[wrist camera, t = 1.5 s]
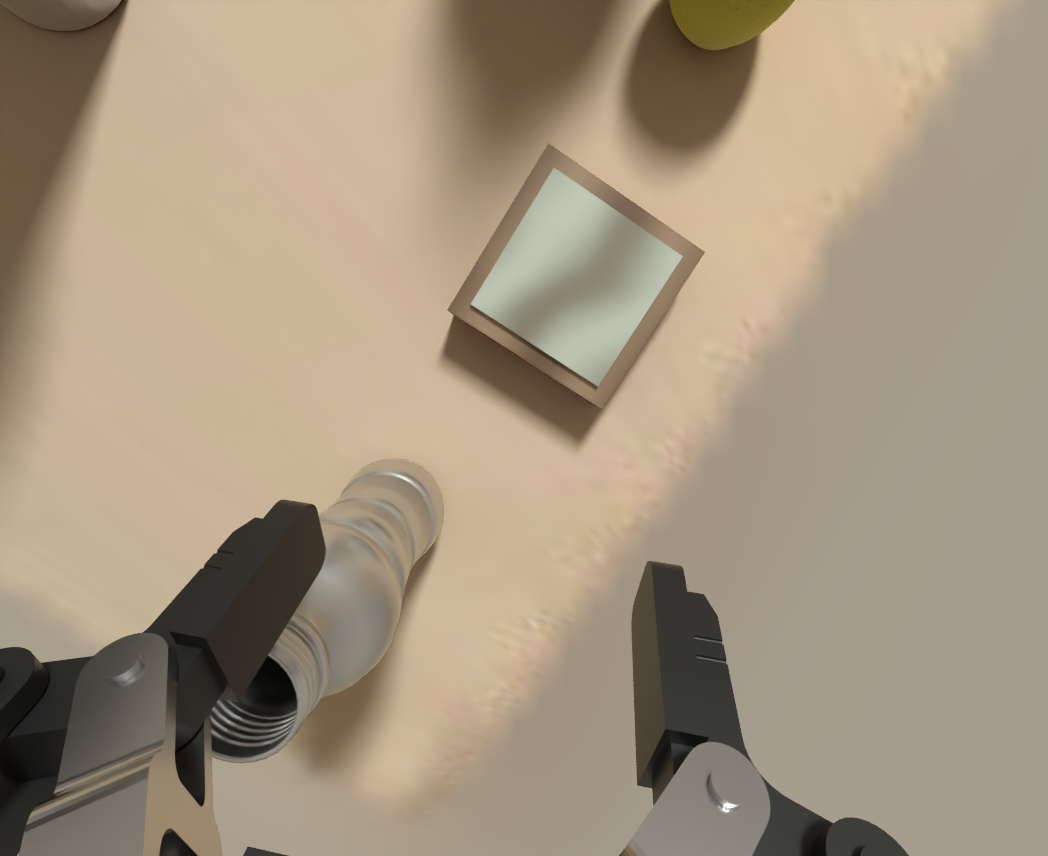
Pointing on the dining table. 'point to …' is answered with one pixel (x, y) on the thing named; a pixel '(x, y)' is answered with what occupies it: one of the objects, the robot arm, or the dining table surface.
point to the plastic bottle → (337, 608)
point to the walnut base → (575, 278)
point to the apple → (725, 20)
